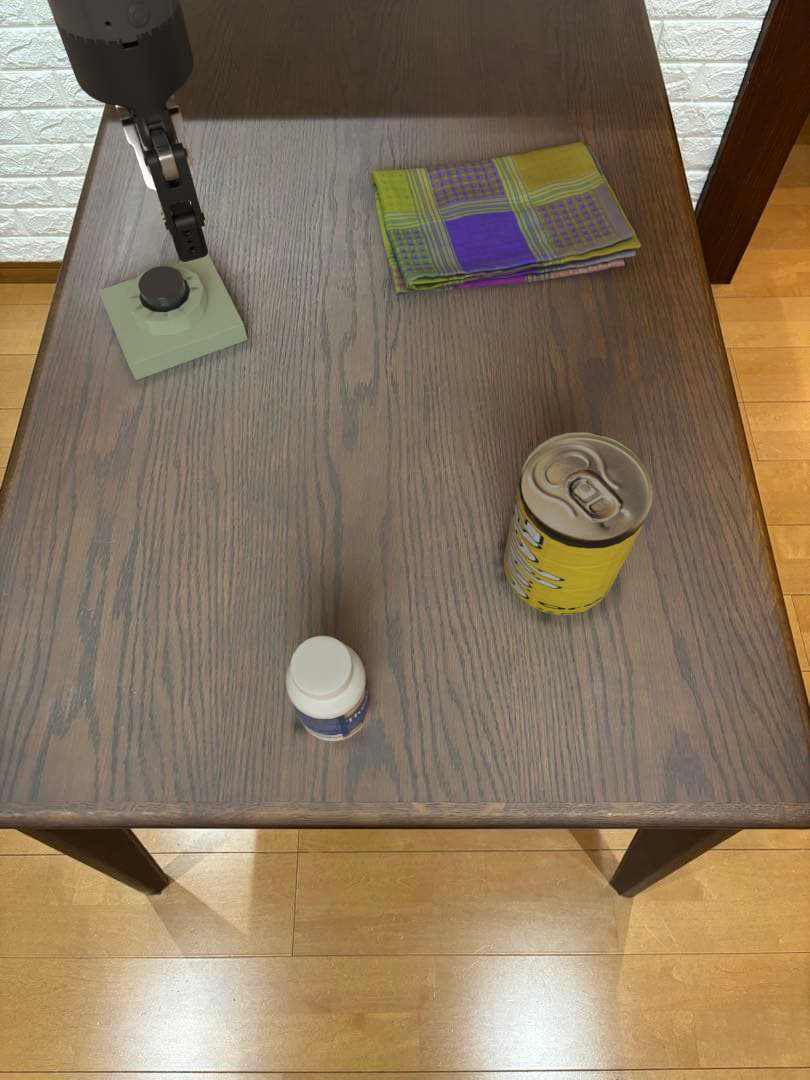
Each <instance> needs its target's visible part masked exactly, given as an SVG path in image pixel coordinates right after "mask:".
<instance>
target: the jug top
mask: <svg viewBox="0 0 810 1080" xmlns="http://www.w3.org/2000/svg"><path fill="white" fill-rule="evenodd" d="M160 266H169V267H173V268H175V269H177V270H178V271H179V272H180V273H181V274H182V277H183V280H184V283H185V285H186V288H187V298H186V300H185V302H184V303H183V304H182V305H181V306H180V307H179V308H177V309H174V310H171V311H168V312H157V311H153V310H151V309H150V308H148V307H147V306H146V304H145V302H144V300H143V297H142V295H141V293H140V290H139V287H138V283H139V280H140V278H141V276H142V275H143V274H144V273H145V272H146V271H148V270H149V269H146V270H144V271H143V272H142V273H140V275H138V276H137V277H134V278H130V279H128V280H126V281H122V282H119V283H116V284H114V285H111V286H108V287H104V288H101V289H98V294H99V297H100V298H101V301H102V305H103V306H104V308H105V311H106V313H107V316H108V319H109V321H110V323H111V326H112V328H113V331H114V333H115V336H116V338H117V340H118V343H119V345H120V349H121V351H122V354H123V356H124V358H125V360H126V363H127V365H128V368H129V370H130V371H131V373H132V375H133V378H134V380H135V381H138V380H141V379H144V378H146V377H147V378H148V377H149V376H152V375H155V374H158V373H160V372H164V371H166V370H169V369H171V368H174V367H177V366H179V365H182V364H185V363H188V362H190V361H193V360H196V359H199V358H202V357H204V356H207V355H211V354H212V353H216V352H218V351H221V350H224V349H226V348H227V349H228V348H229V347H232V346H234V345H237V344H240V343H243V342H245V341H248V339H249V338H248V335H247V334H248V333H247V330H246V328H245V327H246V326H245V324H244V321H243V320H242V317H241V315H240V313H239V312H238V309H237V307H236V306H235V304H234V301H233V300H232V298H231V296H230V293H229V291H228V290H227V288H226V285H225V284H224V281H223V280H222V277H221V276H220V274H219V272H218V270H217V268H216V265H215V264H214V261H213V260H212V258H211V256H210V254H209V253H208V254H207V255H206V256H205V257H203V258H199V259H195V260H191V261H188V262H182V261H180V262H178V263H174V264H172V265H169V264H167V265H166V264H162V265H160Z"/></svg>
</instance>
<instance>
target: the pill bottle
mask: <svg viewBox="0 0 810 1080" xmlns="http://www.w3.org/2000/svg"><path fill="white" fill-rule="evenodd" d="M285 686H286V692H287V695H288V698H289V700H290V702H291V704H292V706H293V708H294V711H295V712H296V715H297V717H298V719H299V721H300V723H301V725H302V726H303V728H305V730H306V731H307V732H308V733H309V734H310V735H312V736H313V737H315V738H317V739H320V740H322V741H326V742H338V741H344V740H346V739H349V738H351V737H352V736H354V735H355V734H357V733H358V732H359V731H360V730H361V729H362V727H363V726H364V725H365V723H366V722H367V719H368V716H369V713H370V706H371V705H370V702H371V701H370V694H369V688H368V681H367V675H366V669H365V666H364V664H363V661H362V659H361V658H360V656H359V655H358V654H357V653H356V651H355V650H354V649H353V648H351V647H350V646H348V645H346V644H345V643H343V642H342V641H340V640H339V639H337V638H335V637H333V636H329V635H317V636H313V637H309V638H307V639H305V640H304V641H302V642H301V643H300V644H299V645H298V646H297V647H296V649H295V650H294V652H293V653H292V656H291V660H290V662H289V665H288V667H287V670H286V674H285Z"/></svg>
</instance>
